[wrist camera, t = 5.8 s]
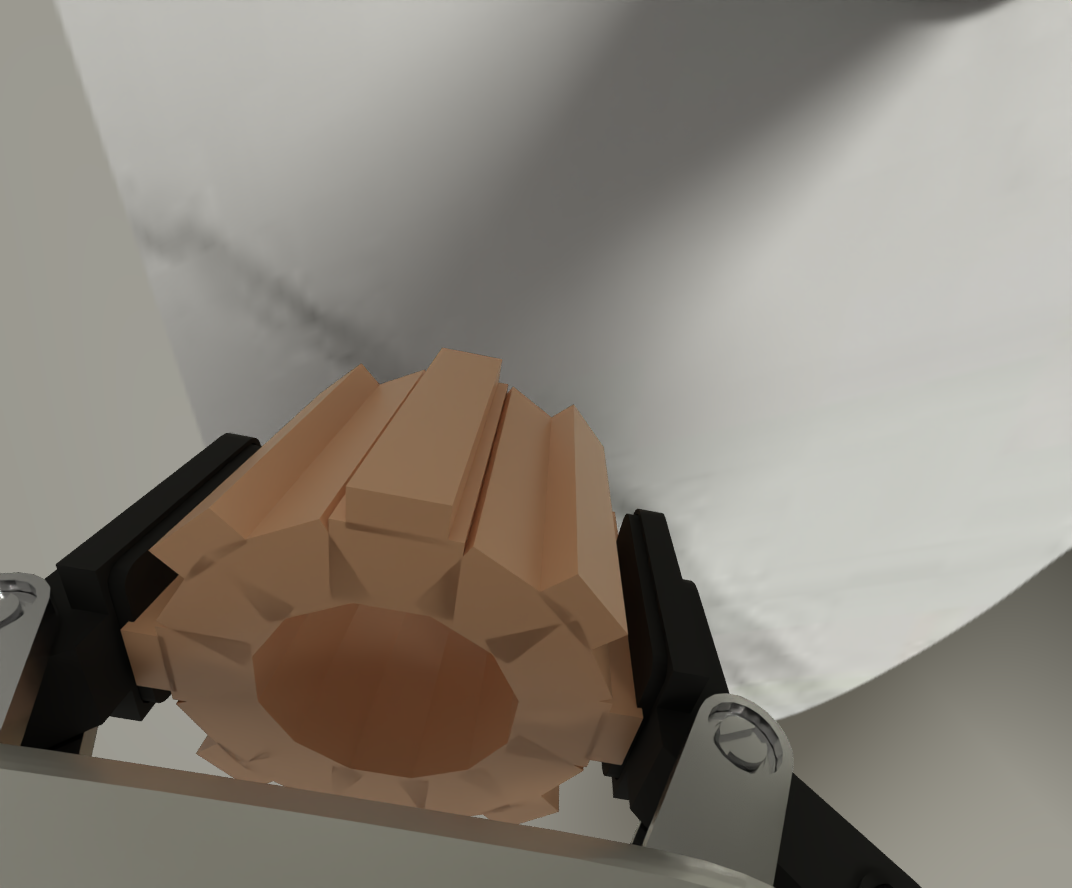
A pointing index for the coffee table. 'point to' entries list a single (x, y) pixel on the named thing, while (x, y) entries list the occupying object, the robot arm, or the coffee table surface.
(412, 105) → the coffee table surface
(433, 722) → the loose gear
